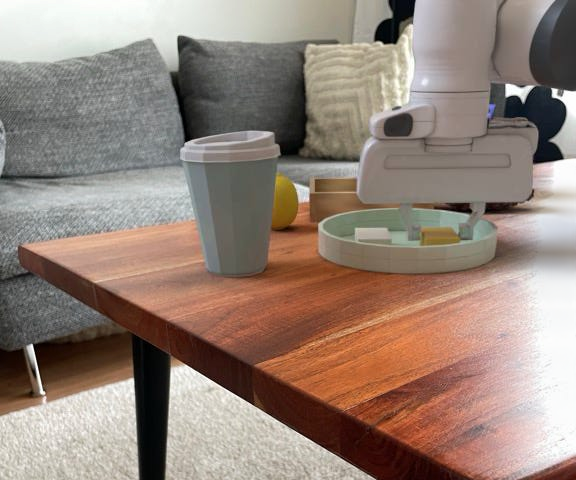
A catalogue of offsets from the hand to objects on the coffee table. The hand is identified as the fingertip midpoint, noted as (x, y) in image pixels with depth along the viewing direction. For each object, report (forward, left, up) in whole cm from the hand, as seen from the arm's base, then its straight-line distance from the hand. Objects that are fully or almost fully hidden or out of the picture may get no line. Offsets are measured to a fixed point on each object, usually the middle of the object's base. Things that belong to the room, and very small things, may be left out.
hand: (438, 239), depth 87 cm
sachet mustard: (0, 0, -1) cm, 1 cm away
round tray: (+4, 0, -2) cm, 4 cm away
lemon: (+20, -12, -2) cm, 23 cm away
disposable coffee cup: (+24, +8, -2) cm, 25 cm away
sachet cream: (+8, 0, -1) cm, 8 cm away
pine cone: (-10, -27, -2) cm, 29 cm away
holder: (+7, -23, -2) cm, 24 cm away
